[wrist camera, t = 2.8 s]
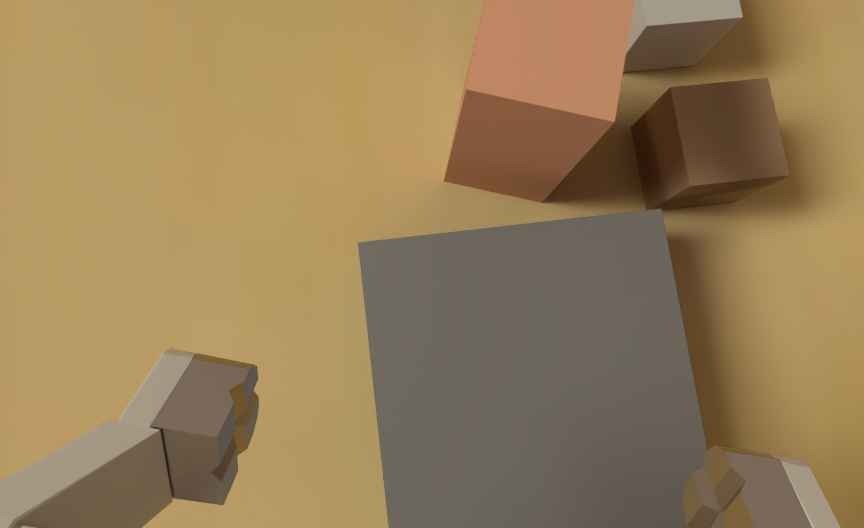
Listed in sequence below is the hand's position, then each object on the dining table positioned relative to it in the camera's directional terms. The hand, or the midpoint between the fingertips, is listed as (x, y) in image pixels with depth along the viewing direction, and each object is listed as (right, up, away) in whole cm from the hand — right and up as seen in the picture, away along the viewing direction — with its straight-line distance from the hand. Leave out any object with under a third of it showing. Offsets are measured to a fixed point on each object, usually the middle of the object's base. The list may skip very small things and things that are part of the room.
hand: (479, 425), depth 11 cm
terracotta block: (+3, +9, +19) cm, 21 cm away
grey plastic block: (+10, +15, +21) cm, 28 cm away
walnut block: (+12, +8, +19) cm, 24 cm away
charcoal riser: (+3, -3, +17) cm, 18 cm away
